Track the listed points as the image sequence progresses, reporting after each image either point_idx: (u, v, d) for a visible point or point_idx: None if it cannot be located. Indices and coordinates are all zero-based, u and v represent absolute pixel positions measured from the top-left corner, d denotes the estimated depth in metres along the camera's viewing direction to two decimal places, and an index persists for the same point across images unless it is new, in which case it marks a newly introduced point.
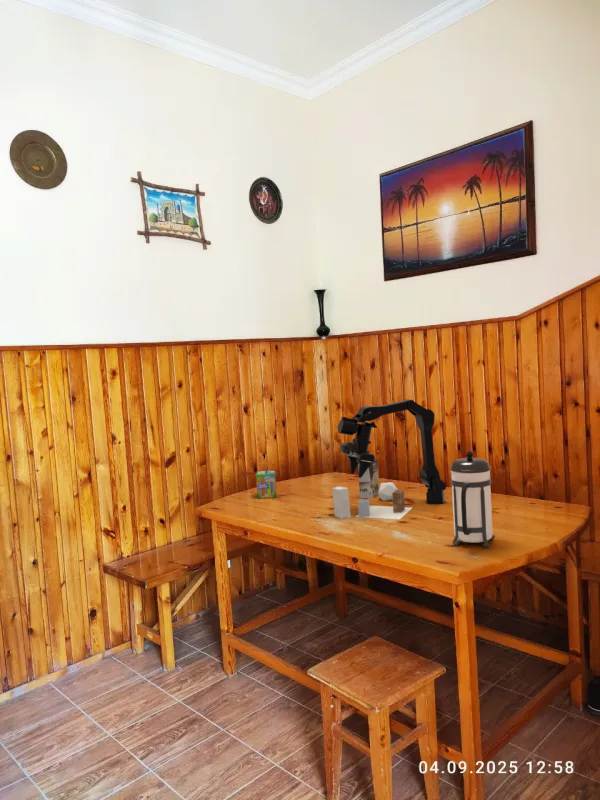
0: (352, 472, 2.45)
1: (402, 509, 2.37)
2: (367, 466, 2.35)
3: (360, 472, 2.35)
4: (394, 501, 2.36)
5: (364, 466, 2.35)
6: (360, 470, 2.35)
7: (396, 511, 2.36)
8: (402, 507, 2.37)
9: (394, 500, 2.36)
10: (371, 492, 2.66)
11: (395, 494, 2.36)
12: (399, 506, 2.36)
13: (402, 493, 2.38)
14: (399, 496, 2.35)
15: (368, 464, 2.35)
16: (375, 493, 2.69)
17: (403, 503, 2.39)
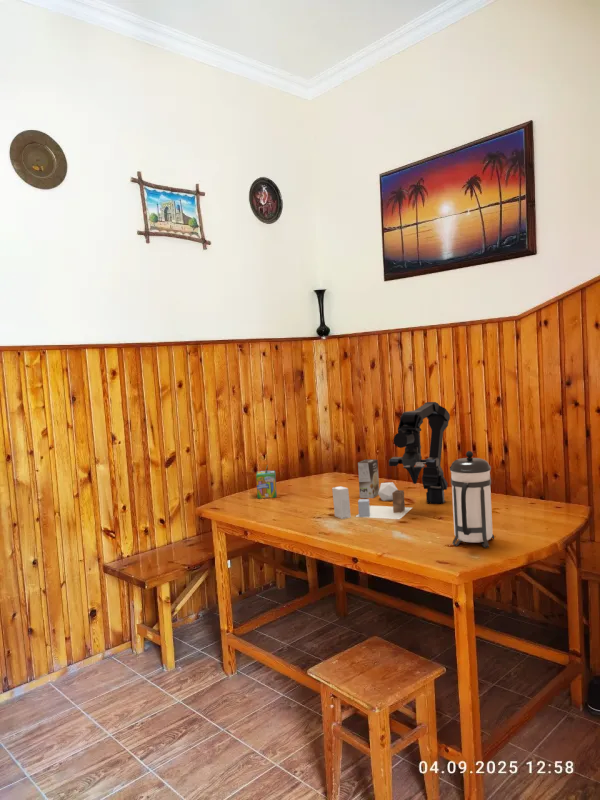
0: None
1: (402, 509, 2.37)
2: (420, 470, 2.35)
3: (417, 478, 2.34)
4: (394, 501, 2.36)
5: None
6: (417, 476, 2.34)
7: (396, 511, 2.36)
8: (402, 507, 2.37)
9: (394, 500, 2.36)
10: (371, 492, 2.66)
11: (395, 494, 2.36)
12: (399, 506, 2.36)
13: (402, 493, 2.38)
14: (399, 496, 2.35)
15: None
16: (375, 493, 2.69)
17: (403, 503, 2.39)
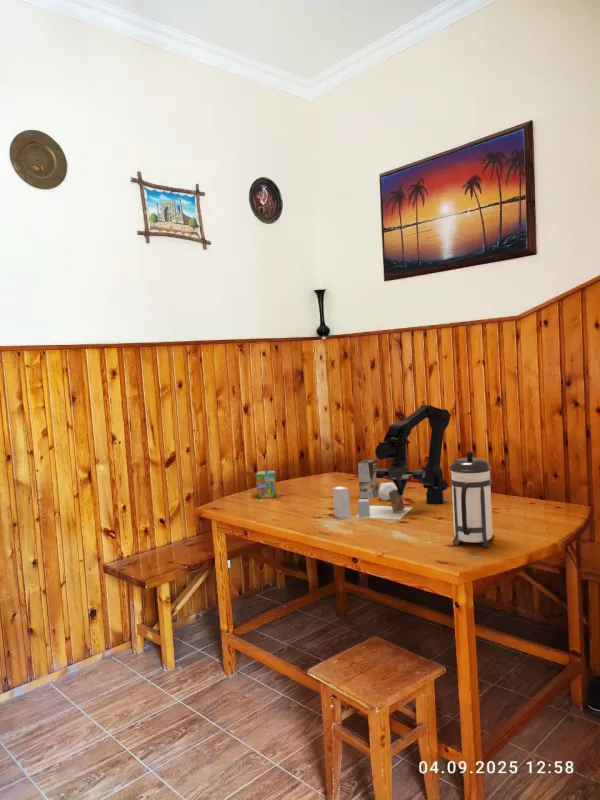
0: None
1: (401, 507, 2.37)
2: (406, 482, 2.38)
3: (403, 490, 2.37)
4: (392, 501, 2.37)
5: (404, 483, 2.37)
6: (403, 488, 2.36)
7: (396, 510, 2.36)
8: (401, 505, 2.37)
9: (392, 500, 2.37)
10: (371, 492, 2.66)
11: (391, 494, 2.37)
12: (398, 504, 2.36)
13: (398, 492, 2.38)
14: (396, 495, 2.36)
15: None
16: (375, 493, 2.69)
17: (401, 502, 2.39)
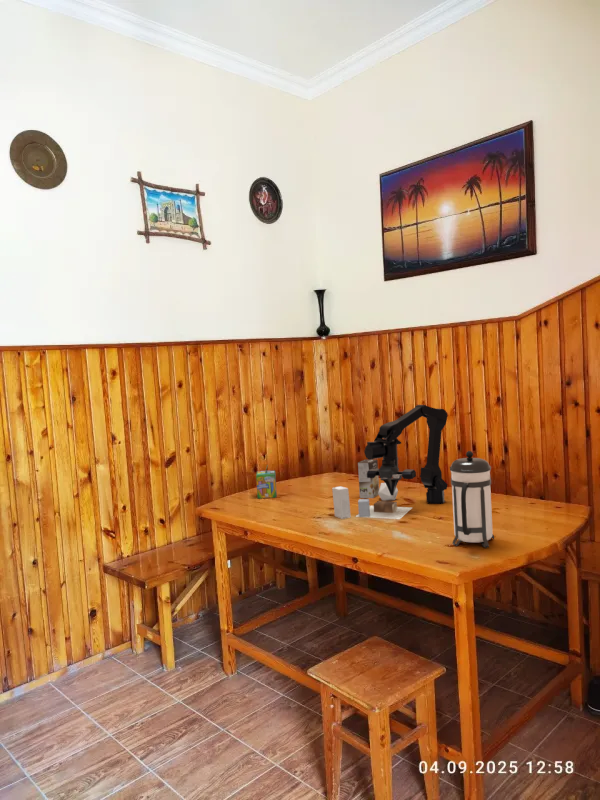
0: None
1: (391, 503, 2.39)
2: (397, 482, 2.40)
3: (394, 490, 2.38)
4: (382, 510, 2.39)
5: (395, 483, 2.39)
6: (394, 488, 2.38)
7: (391, 509, 2.37)
8: (389, 503, 2.39)
9: (381, 510, 2.39)
10: (371, 492, 2.66)
11: (375, 508, 2.40)
12: (386, 505, 2.38)
13: (377, 502, 2.43)
14: (376, 505, 2.40)
15: (397, 479, 2.40)
16: (375, 493, 2.69)
17: (388, 502, 2.41)
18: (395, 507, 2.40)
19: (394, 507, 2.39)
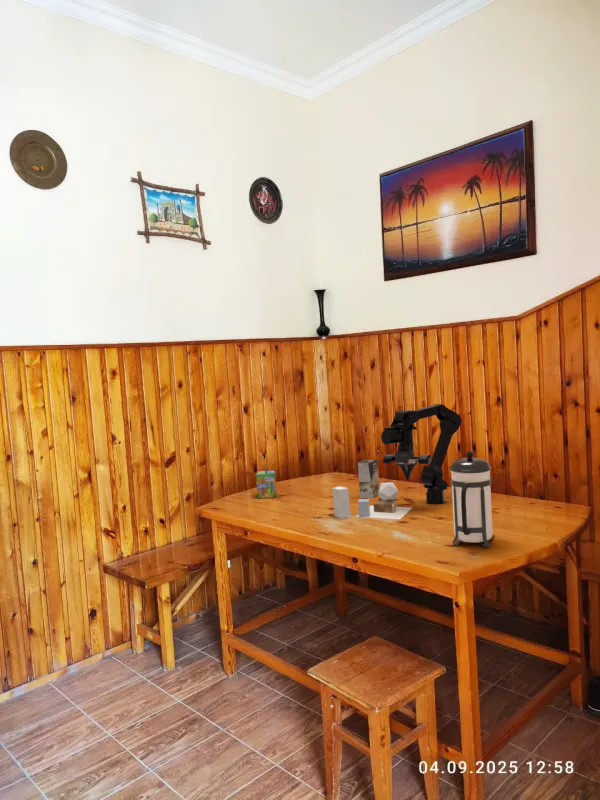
0: None
1: (391, 503, 2.39)
2: (413, 467, 2.43)
3: (409, 475, 2.41)
4: (382, 510, 2.39)
5: (411, 468, 2.42)
6: (410, 473, 2.41)
7: (391, 509, 2.37)
8: (389, 503, 2.39)
9: (381, 510, 2.39)
10: (371, 492, 2.66)
11: (375, 508, 2.40)
12: (386, 505, 2.38)
13: (377, 502, 2.43)
14: (376, 505, 2.40)
15: (413, 465, 2.43)
16: (375, 493, 2.69)
17: (388, 502, 2.41)
18: (395, 507, 2.40)
19: (394, 507, 2.39)
